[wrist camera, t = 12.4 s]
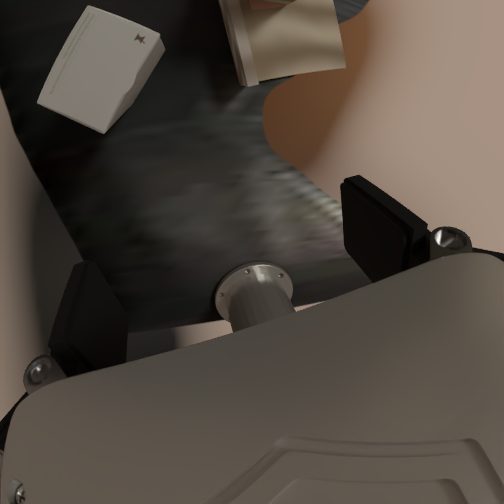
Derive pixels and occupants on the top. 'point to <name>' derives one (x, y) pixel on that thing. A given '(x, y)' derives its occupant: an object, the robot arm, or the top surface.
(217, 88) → the top surface
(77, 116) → the skincare box
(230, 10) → the tray
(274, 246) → the top surface
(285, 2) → the skincare box
